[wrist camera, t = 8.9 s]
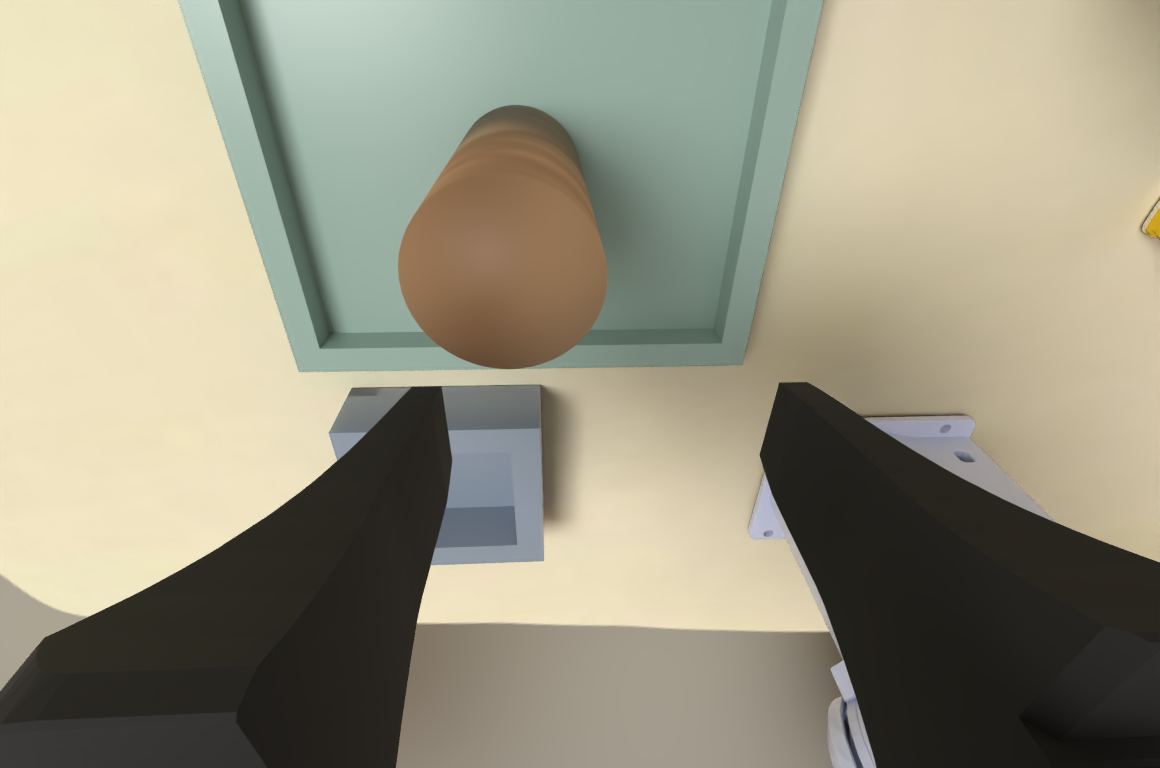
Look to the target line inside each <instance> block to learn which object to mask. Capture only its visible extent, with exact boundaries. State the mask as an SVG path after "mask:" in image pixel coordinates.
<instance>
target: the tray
mask: <svg viewBox="0 0 1160 768" xmlns="http://www.w3.org/2000/svg"><path fill="white" fill-rule="evenodd" d="M178 2H179V5H180V8H181V11H182V14H183V18H184V21H185V24H186V27H187V30H188V33H189V36H190V39H191V42H192V45H193V48H194V51H195V54H196V57H197V61H198V64H199V67H200V70H201V73H202V76H203V79H204V82H205V85H206V88H207V91H208V94H209V97H210V100H211V104H212V107H213V110H214V113H215V116H216V119H217V122H218V125H219V128H220V131H221V134H222V137H223V140H224V143H225V147H226V150H227V153H228V156H229V159H230V162H231V165H232V168H233V171H234V174H235V177H236V180H237V183H238V186H239V189H240V193H241V196H242V199H243V202H244V205H245V208H246V211H247V214H248V217H249V220H250V223H251V226H252V229H253V232H254V236H255V239H256V242H257V245H258V248H259V251H260V254H261V257H262V260H263V263H264V266H265V269H266V272H267V275H268V279H269V282H270V285H271V288H272V291H273V294H274V297H275V300H276V303H277V306H278V309H279V312H280V315H281V318H282V322H283V325H284V328H285V331H286V334H287V337H288V340H289V343H290V346H291V349H292V352H293V355H294V358H295V361H296V365H297V368H298V371H299V372H341V371H405V370H469V369H497V368H490V367H484V366H480V365H477V364H473V363H470V362H468V361H465V360H463V359H460V358H458V357H456V356H454V355H453V354H451V353H449V352H447V351H446V350H444V349H443V348H442V347H440V346H439V345H437V344H436V343H435V342H434V341H433V340H432V339H431V338H430V337H428V336H427V335H426V333H425V332H424V331H423V330H422V329H421V328H420V327H419V325H418V324H417V322H416V321H415V319H414V318H413V317H412V315H411V313H410V311H409V309H408V307H407V305H406V303H405V300H404V297H403V295H402V292H401V287H400V282H399V275H398V258H399V250H400V246H401V241H402V238H403V236H404V233H405V231H406V228H407V226H408V224H409V223H410V221H411V219H412V217H413V216H414V214H415V213H416V211H417V210H418V208H419V206H420V205H421V203H422V202H423V200H424V199H425V197H426V196H427V194H428V192H429V191H430V189H431V188H432V186H433V185H434V183H435V182H436V180H437V179H438V177H439V175H440V174H441V172H442V171H443V169H444V168H445V166H446V165H447V163H448V162H449V160H450V158H451V157H452V155H453V154H454V152H455V151H456V149H457V148H458V146H459V144H460V143H461V141H462V140H463V138H464V137H465V135H466V134H467V132H468V131H469V129H470V128H471V127H472V125H473V124H474V123H475V122H476V121H477V120H478V119H479V118H480V117H482V116H483V115H485V114H486V113H488V112H490V111H492V110H494V109H496V108H499V107H503V106H508V105H523V106H529V107H533V108H536V109H539V110H541V111H543V112H545V113H547V114H548V115H550V116H552V117H553V118H554V119H555V120H557V121H558V122H559V123H560V124H561V125H562V126H563V127H564V129H565V130H566V131H567V133H568V134H569V136H570V137H571V139H572V141H573V143H574V145H575V148H576V150H577V154H578V158H579V161H580V165H581V169H582V172H583V176H584V180H585V183H586V187H587V191H588V194H589V198H590V202H591V205H592V209H593V213H594V216H595V220H596V224H597V227H598V231H599V235H600V238H601V242H602V246H603V250H604V253H605V257H606V263H607V271H608V278H607V290H606V296H605V300H604V303H603V306H602V309H601V311H600V314H599V316H598V318H597V320H596V321H595V323H594V325H593V326H592V328H591V329H590V331H589V332H588V333H587V334H586V335H585V337H584V338H583V339H582V340H581V341H580V342H579V343H577V344H576V345H575V346H574V347H573V348H571V349H570V350H569V351H567V352H566V353H564V354H563V355H561V356H559V357H557V358H555V359H553V360H551V361H548V362H546V363H543V364H540V365H536V366H532V367H527V368H520V369H532V368H596V367H660V366H724V365H743V361H744V356H745V352H746V347H747V343H748V338H749V334H750V329H751V325H752V320H753V316H754V311H755V307H756V302H757V298H758V293H759V288H760V284H761V279H762V275H763V270H764V266H765V261H766V257H767V252H768V248H769V243H770V239H771V234H772V230H773V225H774V221H775V216H776V212H777V207H778V203H779V198H780V194H781V189H782V185H783V180H784V176H785V171H786V167H787V162H788V158H789V153H790V149H791V144H792V140H793V135H794V131H795V126H796V122H797V117H798V113H799V108H800V104H801V99H802V95H803V90H804V86H805V81H806V77H807V72H808V68H809V63H810V59H811V54H812V50H813V45H814V41H815V36H816V32H817V27H818V23H819V18H820V14H821V9H822V5H823V0H178Z"/></svg>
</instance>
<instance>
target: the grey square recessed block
mask: <svg viewBox="0 0 1160 768" xmlns="http://www.w3.org/2000/svg"><path fill="white" fill-rule="evenodd" d="M410 388H411V387H395V388H352V389H351V391H350V393H349V395H348V397H347V399H346V400H345V402H344V404H343V406H342V408H341V410H340V412H339V414H338V416H337V418H336V420H335V422H334V424H333V426H332V428H331V430H330V432H329V435H330V439H331V442H332V445H333V448H334V451H335V455H336V458H337V461H338V460H339V459H340V458H341V457H342V456H343V455H344V454H346V453H347V452H348V451H349V450H350V449H351V448H352V447H353V446H354V445H355V444H356V443H357V442H358V441H359V440H360V439H361V438H362V437H363V436H364V435H365V434H366V433H367V432H368V431H369V430H370V429H371V428H372V427H373V426H374V425H375V424H376V423H377V422H378V421H379V420H380V419H381V418H382V417H383V416H384V415H385V414H386V413H387V412H388V411H389V410H390V409H391V408H392V407H393V406H394V404H395V403H396V402H397V401H398V400H399V399H400V398H401V397H402V396H403V395H404V394H405V393H406V392H407V391H408V390H409V389H410ZM442 392H443V399H444V406H445V413H446V420H447V426H448V433H449V440H450V447H451V454H452V469H451V477H450V485H449V492H448V499H447V505H446V508H445V512H444V516H443V520H442V524H441V528H440V532H439V535H438V539H437V543H436V547H435V550H434V554H433V558H432V562H431V565H450V564H477V563H504V562H532V561H544V501H543V464H542V427H541V390H540V385H509V386H452V387H442Z"/></svg>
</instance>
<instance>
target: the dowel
mask: <svg viewBox="0 0 1160 768" xmlns="http://www.w3.org/2000/svg"><path fill="white" fill-rule="evenodd" d="M398 275H399V282H400V287H401V292H402V295H403V297H404V300H405V303H406V305H407V307H408V309H409V311H410V313H411V315H412V317H413V318H414V319H415V321H416V322H417V324H418V325H419V327H420V328H421V329H422V330H423V331H424V332H425V333H426V335H427V336H428V337H430V338H431V339H432V340H433V341H434V342H435V343H436V344H437V345H439V346H440V347H442V348H443V349H444V350H446V351H447V352H449V353H451V354H453V355H454V356H456V357H458V358H460V359H463V360H465V361H468V362H470V363H473V364H477V365H480V366H484V367H490V368H497V369H520V368H527V367H532V366H536V365H540V364H543V363H546V362H548V361H551V360H553V359H555V358H557V357H559V356H561V355H563V354H564V353H566V352H567V351H569V350H570V349H571V348H573V347H574V346H575V345H576V344H577V343H579V342H580V341H581V340H582V339H583V338H584V337H585V335H586V334H587V333H588V332H589V331H590V329H591V328H592V326H593V325H594V323H595V321H596V320H597V318H598V316H599V314H600V311H601V309H602V306H603V303H604V300H605V296H606V290H607V278H608V271H607V263H606V257H605V253H604V250H603V246H602V242H601V238H600V235H599V231H598V227H597V224H596V220H595V216H594V213H593V209H592V205H591V202H590V198H589V194H588V191H587V187H586V183H585V180H584V176H583V172H582V169H581V165H580V161H579V158H578V154H577V150H576V148H575V145H574V143H573V141H572V139H571V137H570V136H569V134H568V133H567V131H566V130H565V129H564V127H563V126H562V125H561V124H560V123H559V122H558V121H557V120H555V119H554V118H553V117H552V116H550V115H548V114H547V113H545V112H543V111H541V110H539V109H536V108H533V107H529V106H523V105H508V106H503V107H499V108H496V109H494V110H492V111H490V112H488V113H486V114H485V115H483V116H482V117H480V118H479V119H478V120H477V121H476V122H475V123H474V124H473V125H472V127H471V128H470V129H469V131H468V132H467V134H466V135H465V137H464V138H463V140H462V141H461V143H460V144H459V146H458V148H457V149H456V151H455V152H454V154H453V155H452V157H451V158H450V160H449V162H448V163H447V165H446V166H445V168H444V169H443V171H442V172H441V174H440V175H439V177H438V179H437V180H436V182H435V183H434V185H433V186H432V188H431V189H430V191H429V192H428V194H427V196H426V197H425V199H424V200H423V202H422V203H421V205H420V206H419V208H418V210H417V211H416V213H415V214H414V216H413V217H412V219H411V221H410V223H409V224H408V226H407V228H406V231H405V233H404V236H403V238H402V241H401V246H400V250H399V258H398Z"/></svg>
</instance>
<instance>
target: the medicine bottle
mask: <svg viewBox="0 0 1160 768" xmlns="http://www.w3.org/2000/svg"><path fill="white" fill-rule="evenodd" d="M1142 230H1143V232H1144V233H1145V234H1147V235H1149V236H1152V237H1155V238H1157V239H1160V200H1159V201H1158V203H1157V204H1156V206H1155V207H1154V209H1153V210H1152V212H1151V213H1150V215H1149V216H1148V218H1147V219H1146V221H1145V222H1144V224H1143V227H1142Z"/></svg>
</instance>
